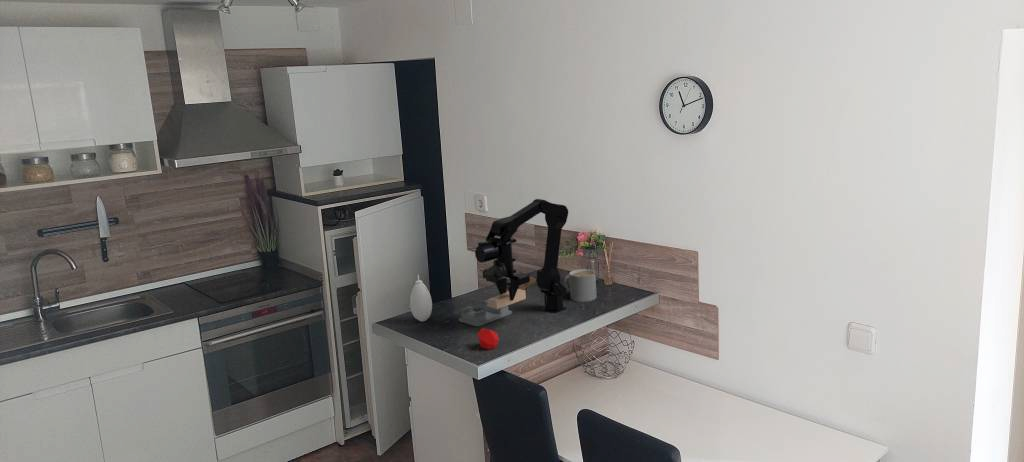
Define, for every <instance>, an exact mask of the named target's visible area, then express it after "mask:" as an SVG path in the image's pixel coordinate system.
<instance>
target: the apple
mask: <svg viewBox="0 0 1024 462" xmlns="http://www.w3.org/2000/svg"><path fill="white" fill-rule="evenodd" d="M477 339H478V341H479V344H480V347H481V348H482V349H485V350H492V349H495V348H497V346H498V343H499V342H500V340H499V335H498V333H497V332H495V331H493V330H491V329H487V328H484V327H483V328H480V331H479V332H477Z"/></svg>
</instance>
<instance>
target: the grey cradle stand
mask: <svg viewBox="0 0 1024 462" xmlns="http://www.w3.org/2000/svg"><path fill="white" fill-rule="evenodd" d="M489 299H490V298H488V299H486V300H483V309H481V310H478V311H475V310H473V308H474V307H473V306H471V305H469V306H465V307H463V308H461V309H460V311H461V317H460V318H458V322H461V323H463V324H466V325H470V326H474V327H478V328H479V327H480V326H483V325H486V324H488V323H491V322H493V321H496V320H498V319H502V318H504V317H506V316H509V315H512V314H513V311H512V310H509V305H507V306H504V307H502V308H499V309H495V308H491V307H489Z"/></svg>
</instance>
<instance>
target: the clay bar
mask: <svg viewBox="0 0 1024 462" xmlns="http://www.w3.org/2000/svg"><path fill="white" fill-rule="evenodd" d="M526 295H527V294H526V289H525V290H521V289H518V290H517V292H516V295H515V297H514V300H512V301H511V300H510V296H509V292H507V291H506V293H504V294H501V295H500V294H499V295H496V296H493V297H490V298H488V299H489V307H491V308H495V309H499V308H502V307H504V306H507V305H508V306H510V305H513V304H515V303H518V302H521V301H523V300H526V299H527V297H526Z"/></svg>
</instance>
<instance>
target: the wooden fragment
mask: <svg viewBox="0 0 1024 462" xmlns="http://www.w3.org/2000/svg"><path fill="white" fill-rule="evenodd" d="M536 279H537V278H535V277H534V276H533V277H530V282H528V283H525V284H522V285H519V287H518V289H521V290H525V291H526V289H528V287H531V286H533V285H535V284H536V283H537V281H536ZM507 292H509V288H508V286H507V285H506V293H507Z"/></svg>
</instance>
